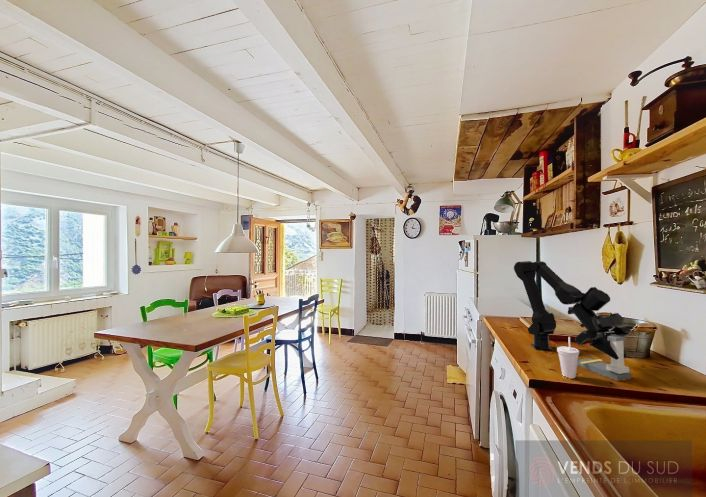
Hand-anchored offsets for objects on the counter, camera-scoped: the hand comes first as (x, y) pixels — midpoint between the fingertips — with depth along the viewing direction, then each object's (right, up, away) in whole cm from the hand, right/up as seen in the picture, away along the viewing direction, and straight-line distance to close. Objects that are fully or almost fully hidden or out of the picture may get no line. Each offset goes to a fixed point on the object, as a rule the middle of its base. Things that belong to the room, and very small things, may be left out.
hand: (621, 358), depth 101 cm
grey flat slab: (-1, -7, +6) cm, 10 cm away
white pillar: (0, -5, +1) cm, 5 cm away
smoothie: (-15, -8, +3) cm, 18 cm away
